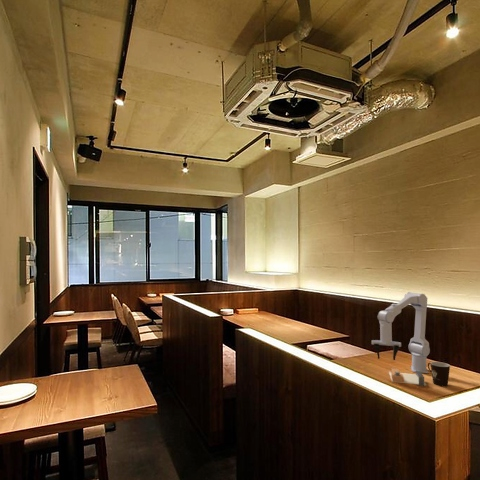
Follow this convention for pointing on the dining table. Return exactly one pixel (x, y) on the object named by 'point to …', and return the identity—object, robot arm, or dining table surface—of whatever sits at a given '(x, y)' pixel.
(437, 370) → the coffee mug
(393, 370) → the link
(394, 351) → the robot arm
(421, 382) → the keeper
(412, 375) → the pintle base
